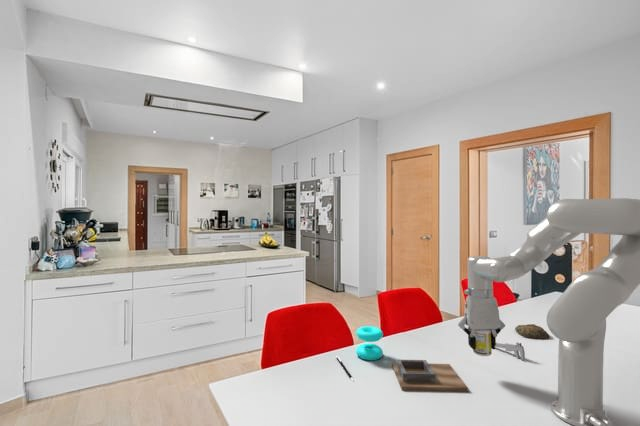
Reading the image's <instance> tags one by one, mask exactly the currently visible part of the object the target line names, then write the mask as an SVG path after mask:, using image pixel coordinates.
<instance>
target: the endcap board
mask: <svg viewBox="0 0 640 426" xmlns="http://www.w3.org/2000/svg"><path fill="white" fill-rule="evenodd" d="M391 364H392V365H391V367H392V370H393V369H394V370H393V372H394V374H395V377H396V380H397V382H398V384H399V386H400V389H401V391H416V392H417V391H419V392H420V391H421V392H422V391H425V392H465V393H466V392H467V393H468V391H469V387H468V386H467V385H466V383H465V382H464V381H463V380H462V378H461V377H460V376H459V375H458V373H457V372H456V371H455V369H454V368H453V367H452V365H451V364H449V363H429V362H428V361H427V360H426V359H396V362H392V363H391Z"/></svg>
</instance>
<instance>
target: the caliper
mask: <svg viewBox="0 0 640 426" xmlns="http://www.w3.org/2000/svg"><path fill="white" fill-rule="evenodd" d="M495 348H500V349H505V352H513V353H514V356H515V357H516V359H517V360H521V361H524V360H525V359H526V358H525V357H526V355H525V354H526V353H525V348H524V346H522V343H521V342H516V343H514V344H513V343H508V342H507V343H506V342H505V343H500V342H496V346H495ZM520 358H521V359H520Z"/></svg>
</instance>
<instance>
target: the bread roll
mask: <svg viewBox="0 0 640 426" xmlns="http://www.w3.org/2000/svg"><path fill="white" fill-rule="evenodd" d="M514 330H515V333H517V334H518V335H520V336H521V337H523V338H525V339H531V340H548V339H550V334H549V333H548V332H547V331H546V330H545V329H544V328H543V327H542V326H540V325H536V324H535V323H532V324H531V323H529V324H522V325H521V324H518V325H516V327H515V328H514Z"/></svg>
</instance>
